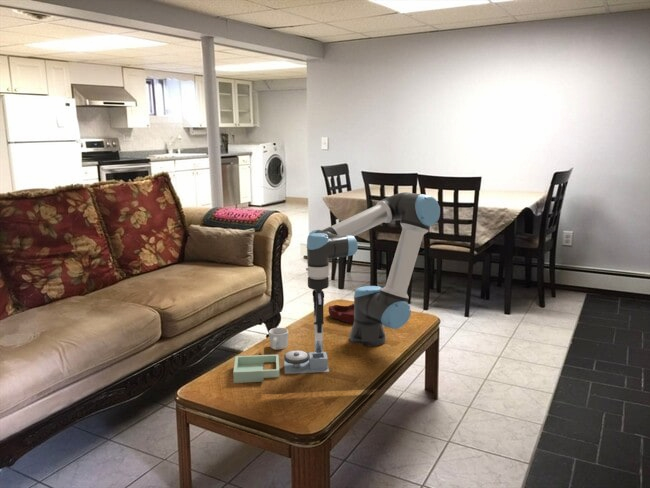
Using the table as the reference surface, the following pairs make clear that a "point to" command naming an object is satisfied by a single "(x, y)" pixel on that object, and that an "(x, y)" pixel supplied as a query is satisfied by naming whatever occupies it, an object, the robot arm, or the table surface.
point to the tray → (254, 368)
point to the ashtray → (342, 313)
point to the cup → (278, 338)
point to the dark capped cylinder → (318, 342)
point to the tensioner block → (305, 362)
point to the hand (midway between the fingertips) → (318, 338)
